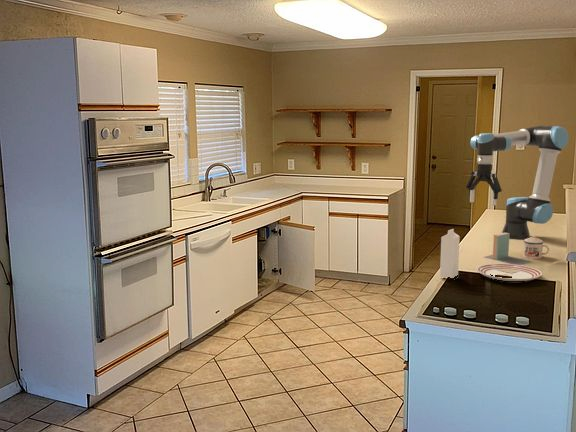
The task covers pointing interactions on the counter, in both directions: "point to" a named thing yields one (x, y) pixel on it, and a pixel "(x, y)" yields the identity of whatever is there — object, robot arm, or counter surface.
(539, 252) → the teacup with lid
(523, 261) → the mat
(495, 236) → the peach box
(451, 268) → the milk
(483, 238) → the counter surface
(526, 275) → the dinner plate
